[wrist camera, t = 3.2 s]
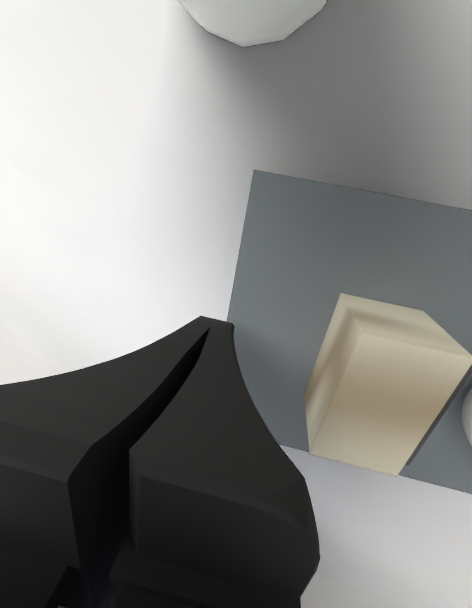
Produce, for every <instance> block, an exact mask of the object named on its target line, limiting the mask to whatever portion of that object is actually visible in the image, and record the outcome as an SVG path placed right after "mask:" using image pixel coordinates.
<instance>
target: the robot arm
mask: <svg viewBox="0 0 472 608" xmlns="http://www.w3.org/2000/svg"><path fill="white" fill-rule="evenodd" d="M234 329H235V326H234V325H233V323H230V322H225V321H221V320H216V319H212V318H208V317H203V316H200V317H198V318H196V319H195V320H193V321H191V322H190V323H188V324H186V325H185V326H183V327H181V328H180V329H178V330H176V331H175V332H173V333H171V334H169V335H168V336H166V337H164V338H162V339H160V340H158V341H156V342H154V343H152V344H150V345H148V346H146V347H143V348H141V349H139V350H137V351H134V352H132V353H129V354H126V355H124V356H121V357H119V358H116V359H113V360H110V361H106V362H103V363H100V364H96V365H93V366H90V367H87V368H83V369H80V370H76V371H72V372H67V373H63V374H59V375H54V376H50V377H45V378H40V379H35V380H29V381H24V382H17V383H11V384H4V385H0V608H301V604H300V597H301V595H302V594H303V592H304V590H305V589H306V587H307V585H308V584H309V582H310V580H311V579H312V577H313V575H314V574H315V572H316V570H317V567H318V564H319V561H320V553H319V539H318V532H317V527H316V522H315V517H314V512H313V508H312V503H311V499H310V496H309V492H308V488H307V485H306V481H305V478H304V477H303V475H302V474H301V473H300V471H299V470H298V469H297V468H296V466H295V465H294V464H293V463H292V461H291V460H290V459H289V457H288V456H287V455H286V454H285V452H284V451H283V450H282V449H281V447H280V446H279V444H278V443H277V441H276V440H275V438H274V437H273V435H272V434H271V432H270V431H269V429H268V427H267V426H266V424H265V422H264V420H263V419H262V417H261V415H260V413H259V412H258V410H257V408H256V406H255V404H254V402H253V400H252V398H251V396H250V394H249V392H248V389H247V387H246V384H245V382H244V379H243V376H242V374H241V370H240V367H239V364H238V360H237V356H236V351H235V345H234Z"/></svg>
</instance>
